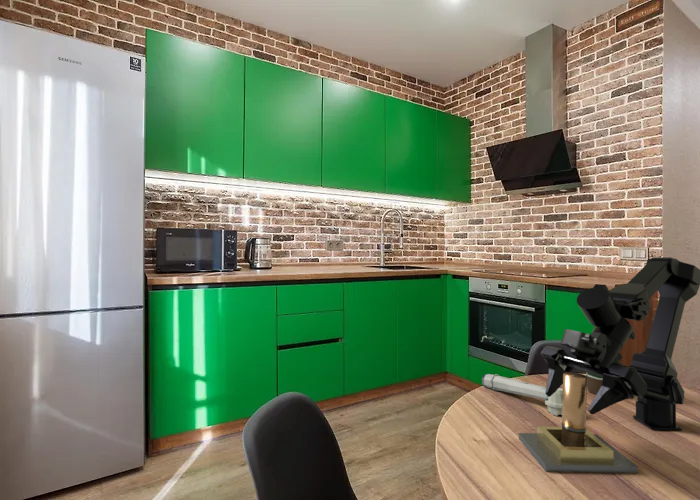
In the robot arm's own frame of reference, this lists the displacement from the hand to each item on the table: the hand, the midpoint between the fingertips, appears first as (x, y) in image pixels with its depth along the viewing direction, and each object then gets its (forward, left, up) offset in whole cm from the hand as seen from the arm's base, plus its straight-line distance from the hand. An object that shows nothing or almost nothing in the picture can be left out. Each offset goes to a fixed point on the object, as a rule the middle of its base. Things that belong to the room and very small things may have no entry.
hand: (567, 403), depth 73 cm
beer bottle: (-27, -35, -10) cm, 45 cm away
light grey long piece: (-3, -28, -11) cm, 30 cm away
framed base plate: (-1, -1, -10) cm, 10 cm away
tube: (-1, -1, -9) cm, 9 cm away
